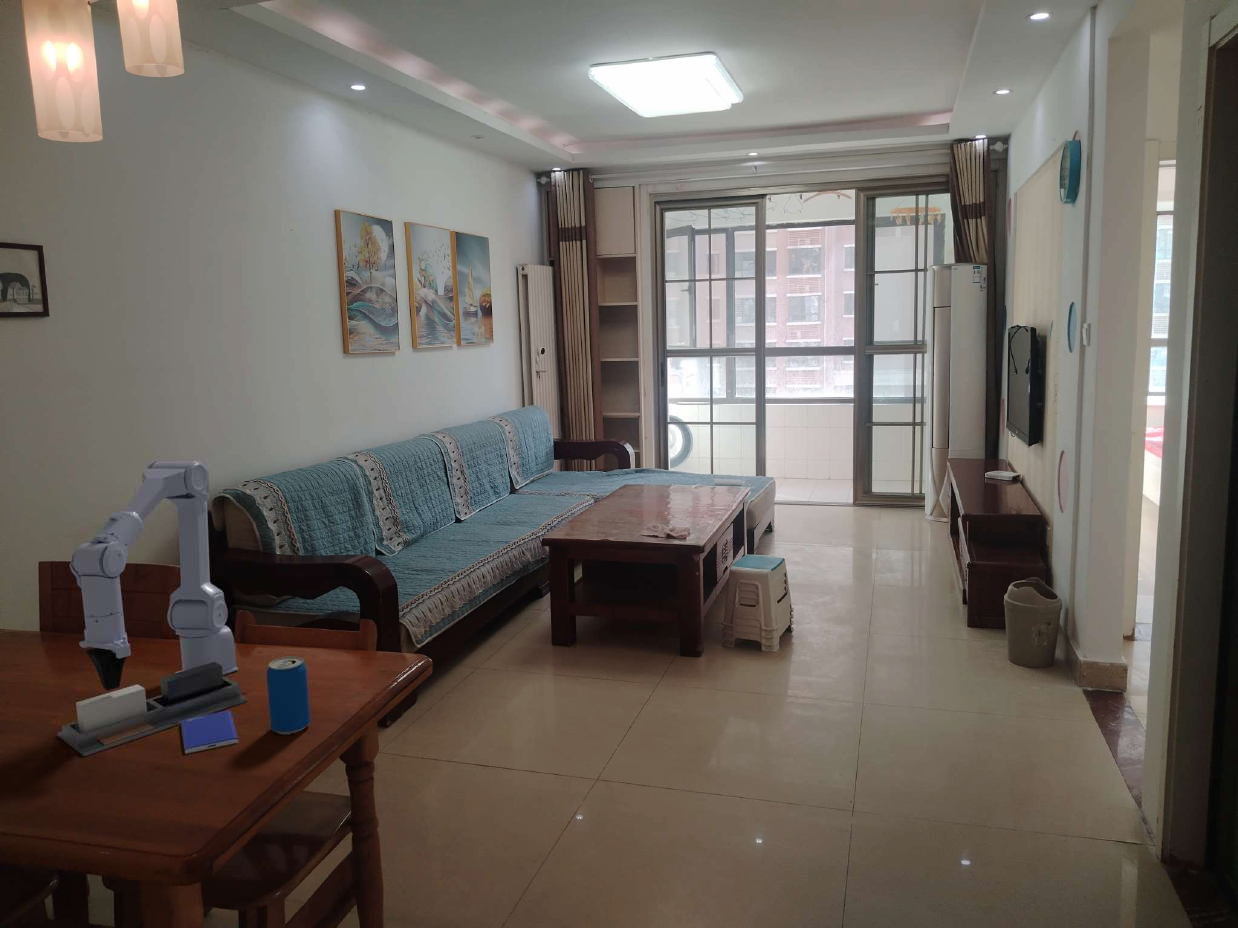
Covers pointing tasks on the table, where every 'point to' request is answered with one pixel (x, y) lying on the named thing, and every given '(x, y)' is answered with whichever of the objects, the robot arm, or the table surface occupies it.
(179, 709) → the drive rack
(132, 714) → the panel
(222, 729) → the hard drive
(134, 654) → the table surface
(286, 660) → the beverage can
